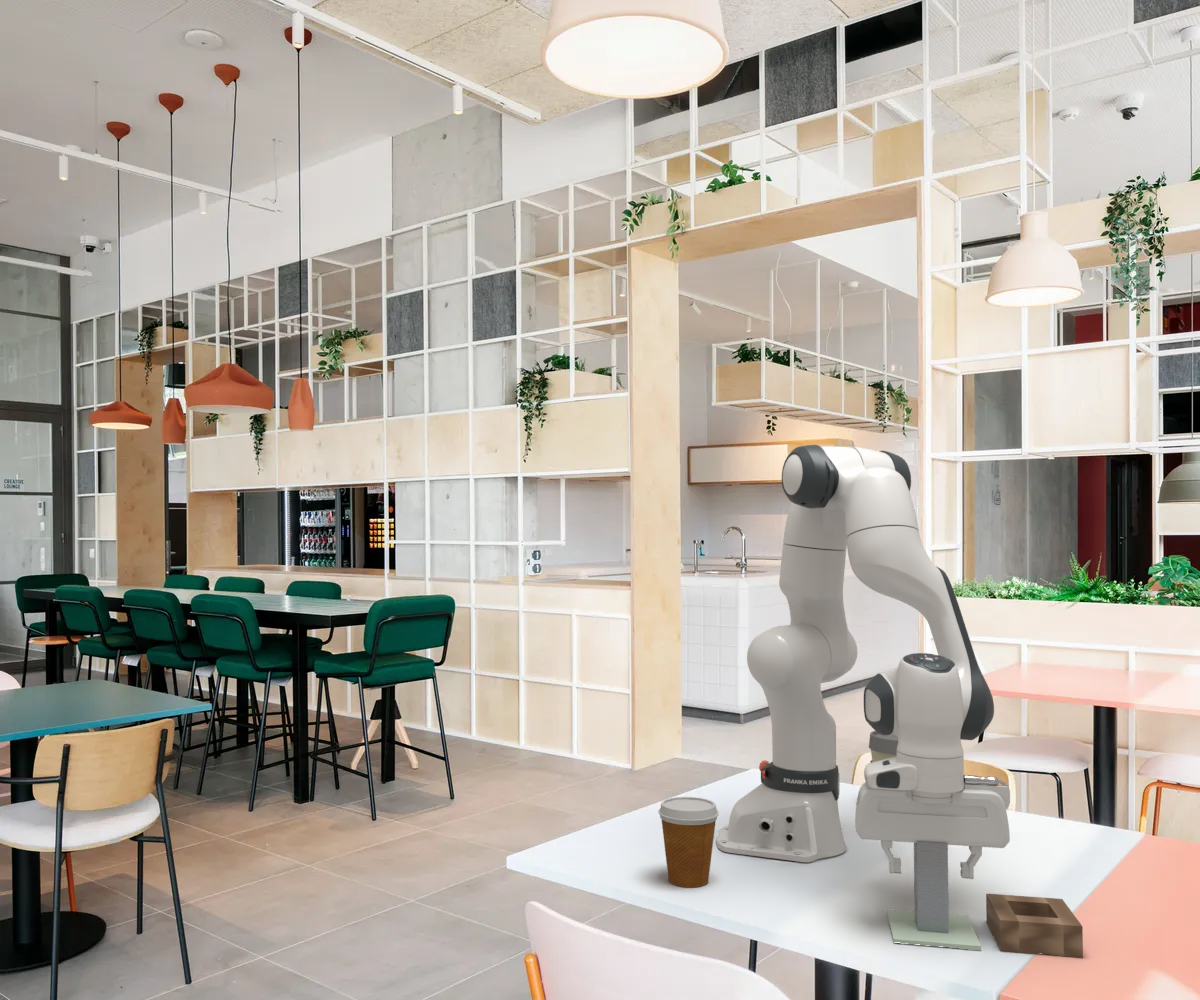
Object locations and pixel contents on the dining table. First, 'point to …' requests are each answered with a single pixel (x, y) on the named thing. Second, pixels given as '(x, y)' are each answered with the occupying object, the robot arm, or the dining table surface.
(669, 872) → the disposable coffee cup
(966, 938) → the mat
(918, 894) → the peg
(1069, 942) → the socket block
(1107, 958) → the dining table surface
